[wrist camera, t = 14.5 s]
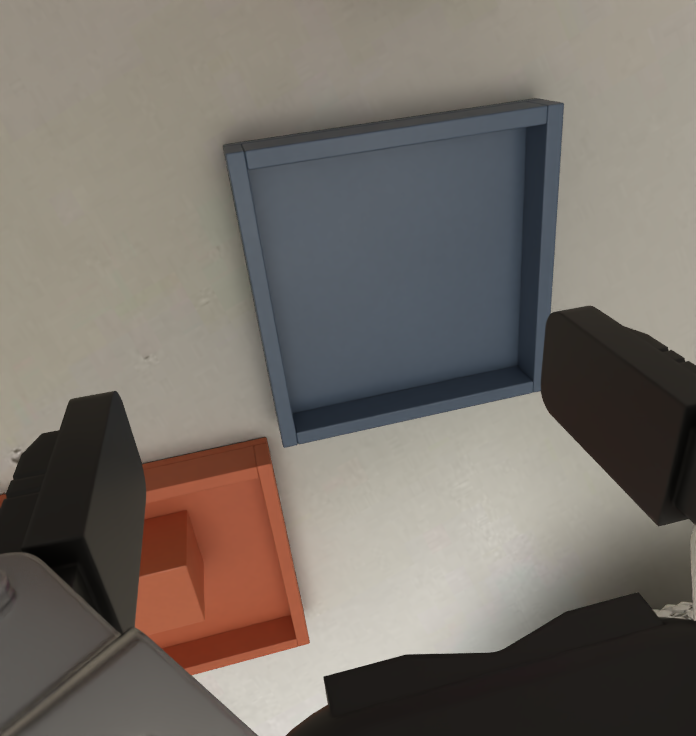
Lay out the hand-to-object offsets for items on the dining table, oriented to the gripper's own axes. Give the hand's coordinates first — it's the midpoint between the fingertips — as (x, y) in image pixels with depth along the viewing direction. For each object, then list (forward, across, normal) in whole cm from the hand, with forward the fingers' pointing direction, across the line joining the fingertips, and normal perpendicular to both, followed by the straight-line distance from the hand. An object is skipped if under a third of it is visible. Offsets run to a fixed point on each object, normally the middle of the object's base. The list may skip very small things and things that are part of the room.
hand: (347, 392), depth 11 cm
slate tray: (+20, -7, +6) cm, 22 cm away
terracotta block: (+19, +9, +20) cm, 29 cm away
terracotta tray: (+20, +9, +22) cm, 31 cm away
